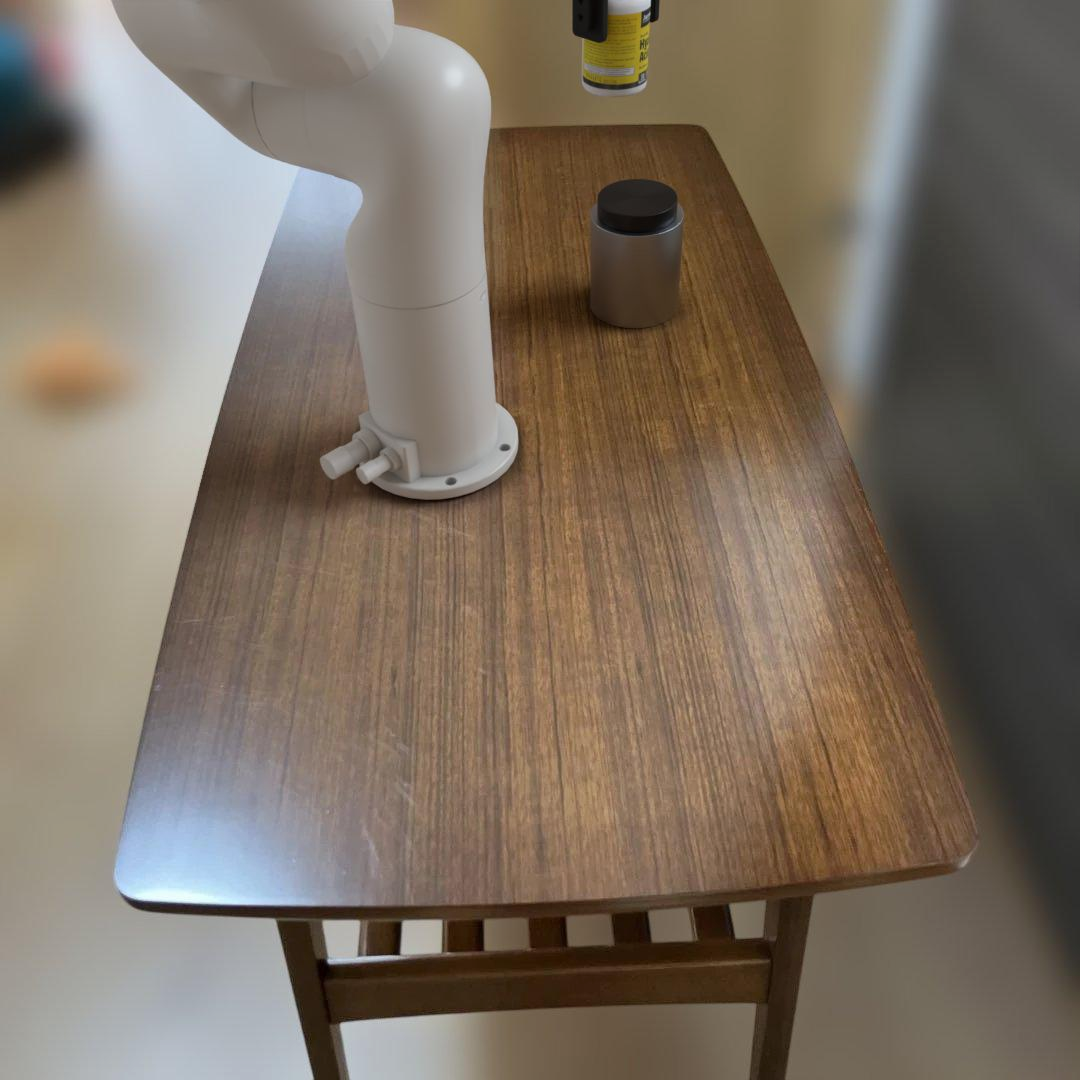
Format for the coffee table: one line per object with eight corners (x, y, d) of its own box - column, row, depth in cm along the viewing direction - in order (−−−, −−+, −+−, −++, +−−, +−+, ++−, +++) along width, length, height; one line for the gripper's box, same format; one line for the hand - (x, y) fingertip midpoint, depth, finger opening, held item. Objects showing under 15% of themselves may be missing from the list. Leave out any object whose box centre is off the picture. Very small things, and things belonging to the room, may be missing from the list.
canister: (637, 339, 98) (640, 229, 91) (572, 305, 102) (570, 198, 95) (696, 303, 102) (704, 195, 95) (631, 272, 106) (634, 166, 99)
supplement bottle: (649, 98, 91) (655, -32, 84) (582, 100, 91) (583, -30, 84) (645, 74, 95) (650, -53, 88) (581, 75, 95) (581, -51, 88)
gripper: (577, -223, 71) (576, 69, 83) (742, -257, 80) (719, 11, 92) (495, -235, 75) (506, 45, 87) (661, -266, 84) (649, -8, 96)
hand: (616, 25), depth 89 cm, fingers closed on supplement bottle, 5 cm apart
